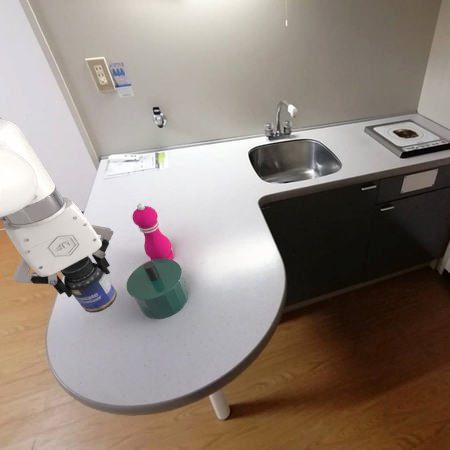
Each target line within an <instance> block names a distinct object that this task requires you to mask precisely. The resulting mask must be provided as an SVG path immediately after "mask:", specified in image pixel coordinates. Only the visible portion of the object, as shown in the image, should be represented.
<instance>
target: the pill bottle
mask: <svg viewBox="0 0 450 450" xmlns="http://www.w3.org/2000/svg"><path fill="white" fill-rule="evenodd" d="M60 272H61V274H62V275H63V277H64V278H63V283H64V284H65V285H66V287H67V288H68V289H69V291H70V292H71V293H72V294H73V295H72V296H73V297H74V298H75V300H76V301H77V302H78V304H79V305H80V306H81V307H82V309H83V310H84V311H85V312H86V313H90V314H95V313H100V312H104V311H105V310H106V309H108V308H109V307H111V306H112V305H113V304H114V303H115V301H116V299H117V296H118V293H117V290H116V289H115V287H114V285H113V284H112V282H111V281H110V279H109V277H108V276H107V274H105V273H104V271H103V270H102V268H101V267H100V266H99V265H98V264H97V263H96V262H93V261H92V259H91V257H89V256H87V257H85V258H83V259H81V260H79V261H78V262H76V263H74V264H72V265H70V266H68V267H66V268H64V269H63V270H61V271H60Z"/></svg>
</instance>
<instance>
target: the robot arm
mask: <svg viewBox="0 0 450 450" xmlns="http://www.w3.org/2000/svg"><path fill="white" fill-rule="evenodd" d="M0 221H3V226H4V229H5V232H6V234H7V236H8V238H9V240H10V241H11V243H12V244H13V246H14V247H15V249H16V250H17V252H18V254H19V255H20V256H21V258H20V260H19V262H18V263H17V267H16V269H15V271H14V273H13V276H12V279H13V280H14V283H18V284H30V283H31V284H34V285H49V286H52V287H53V288H54V289H55V290H56V291H57V292H58V294H59V295H62V294H64V293H65V295H66V296H67V297H68V298H71V297H72V296H73V294H72V293H71V292H70V291H69V289H68V288H67V287H66V285H65V284H64V281H63V280H62V278H60V277H59V275H58V273H59V272H61V270H63V269H64V268H66V267H68V266H70V265H72V264H74V263H76V262H78V261H79V260H81V259H83V258H85V257H87V256H88V257H89V256H92V258H93V260H94V261H95V263H96V264H98V265H99V266H100V267H101V268H102V270H103V271H104V273H105V275H110V274H111V272H110V270H109V267H110V266H111V264H110V263H109V261H108V260H107V258H106V256H107V254H106V252H107V249H108V247H109V245H110V241H111V240H112V237H113V235H114V230H112V229H111V228H110V227H107V226H106V227H105V226H101V225H95V224H91V223H90V222H89V220H88V218H87V217H86V216H85V215H84V213H83V212H82V210H81V209H80V208H79V207H78V206H77V205H76V204H75V203H74V202H73V201H72V200H71V199H70V198H68V197H65V196H62V194H61V192H60V191H59V188H57V185H56V184H55V183H54V181H53V179H52V178H51V176H50V175H49V173H48V171H47V169H46V168H45V166H44V165H43V164H42V162H41V160H40V158H39V157H38V156H37V153H36V152H35V150H34V149H33V147H32V145H31V143H30V142H29V140H28V139H27V136H25V134H24V133H23V131H22V129H20V126H18V125H16V123H14V122H12V121H11V120H8V119H5V118H0ZM99 236H100V237H99ZM31 269H32V271H33V272H30V270H31Z"/></svg>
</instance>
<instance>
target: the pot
mask: <svg viewBox="0 0 450 450" xmlns="http://www.w3.org/2000/svg"><path fill="white" fill-rule="evenodd" d="M133 299H134V301H135V302H136V304H137V306H138V308H139V309H140V311H141V312H142V313H143V315H144V316H145V317H147V318H148V319H153V320H163V319H167V318H170V317H172V316H174V315H176V314H177V313H179V312H180V311H181V310H182V309H183V308H184V307H185V306H186V304H187V303H188V299H189V291H188V288H187V285H186V283H185V280H184V276H182V277H181V279H180V281H179V283H178V284H177V286H176V287H175V288H174V289H173V290H171V291H170V292H169V293H167V294H165V295H164V296H161V297H159V298H156V299H152V300H139V299H136V298H134V297H133Z"/></svg>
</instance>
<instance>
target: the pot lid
mask: <svg viewBox="0 0 450 450" xmlns="http://www.w3.org/2000/svg"><path fill="white" fill-rule="evenodd" d="M181 277H183V270H182V267H181V265H180V264H179V263H178V262H177V261H176V260H173V259H172V260H171V259H155V260H152V261H151V260H148V261H146V262H144V263H142V264H141V265H139V266H138V267H137V268H135V269H134V270H133V271H132V272H131V273H130V275H129V277H128V278H127V280H126V291H127V293H128V294H129V295H130V296H131V297H132V298H133V299H134V298H136V299H139V300H152V299H156V298H159V297H161V296H164V295H165V294H167V293H169V292H170V291H171V290H173V289H174V288H175V287H176V286H177V284H178V283H179V281H180V279H181Z"/></svg>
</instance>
